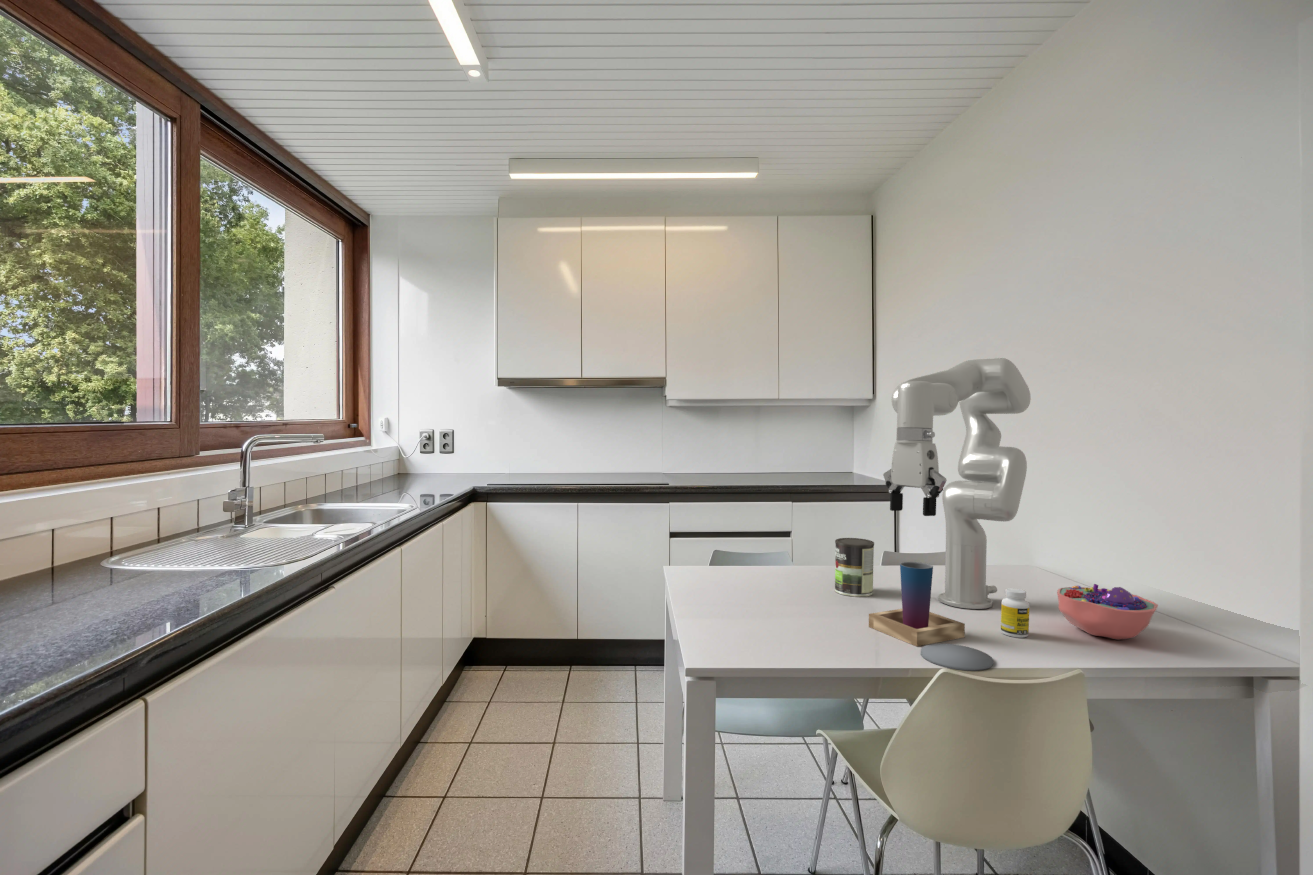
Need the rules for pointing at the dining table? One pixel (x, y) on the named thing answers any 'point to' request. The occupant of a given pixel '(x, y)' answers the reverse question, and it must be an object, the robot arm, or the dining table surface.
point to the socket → (934, 633)
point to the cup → (916, 593)
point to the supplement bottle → (1015, 613)
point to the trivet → (956, 657)
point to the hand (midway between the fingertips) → (912, 513)
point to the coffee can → (854, 567)
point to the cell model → (1106, 611)
